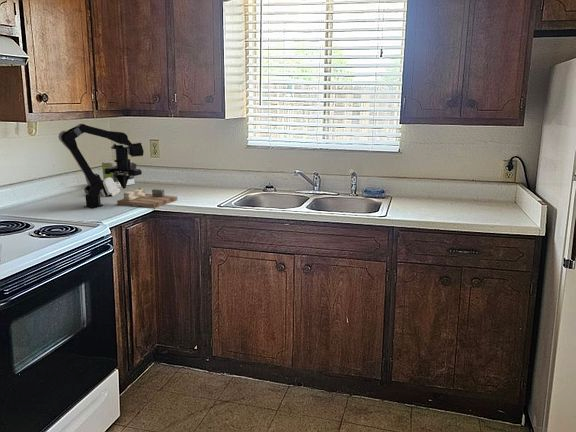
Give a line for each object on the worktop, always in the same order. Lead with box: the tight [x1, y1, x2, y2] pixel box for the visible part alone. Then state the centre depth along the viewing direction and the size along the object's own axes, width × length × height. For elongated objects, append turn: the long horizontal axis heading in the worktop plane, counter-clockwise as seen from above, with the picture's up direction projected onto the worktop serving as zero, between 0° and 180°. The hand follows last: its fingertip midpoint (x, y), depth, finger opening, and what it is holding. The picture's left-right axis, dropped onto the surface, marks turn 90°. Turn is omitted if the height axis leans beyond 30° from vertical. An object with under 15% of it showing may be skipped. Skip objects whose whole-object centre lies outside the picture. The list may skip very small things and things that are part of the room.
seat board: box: [116, 188, 178, 209], centre depth 273 cm, size 20×22×6 cm
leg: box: [123, 187, 146, 201], centre depth 273 cm, size 13×3×4 cm, turn 158°
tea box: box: [101, 159, 135, 188], centre depth 320 cm, size 15×10×15 cm, turn 145°
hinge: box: [100, 177, 121, 198], centre depth 296 cm, size 17×5×10 cm, turn 3°
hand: (124, 188), depth 271 cm, fingers closed
